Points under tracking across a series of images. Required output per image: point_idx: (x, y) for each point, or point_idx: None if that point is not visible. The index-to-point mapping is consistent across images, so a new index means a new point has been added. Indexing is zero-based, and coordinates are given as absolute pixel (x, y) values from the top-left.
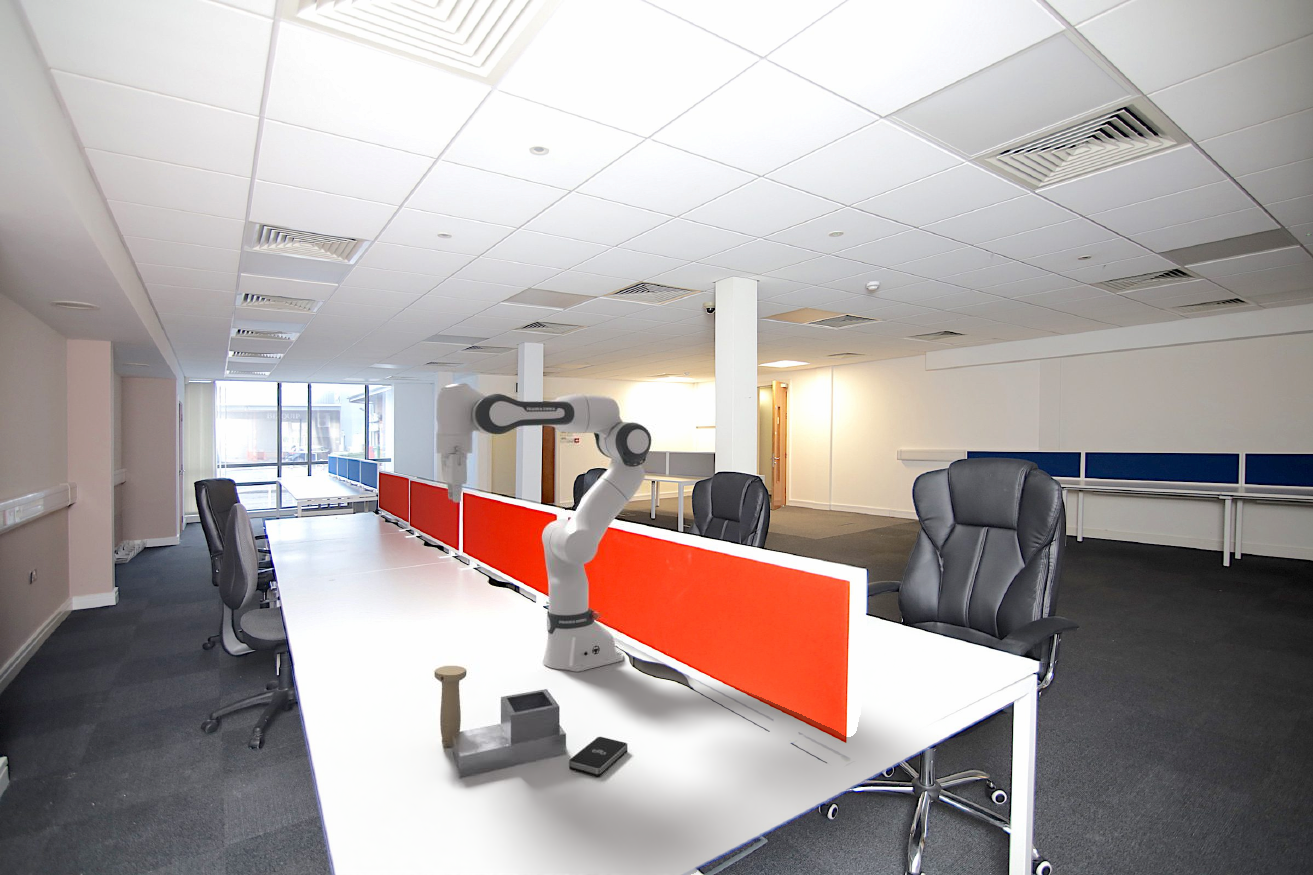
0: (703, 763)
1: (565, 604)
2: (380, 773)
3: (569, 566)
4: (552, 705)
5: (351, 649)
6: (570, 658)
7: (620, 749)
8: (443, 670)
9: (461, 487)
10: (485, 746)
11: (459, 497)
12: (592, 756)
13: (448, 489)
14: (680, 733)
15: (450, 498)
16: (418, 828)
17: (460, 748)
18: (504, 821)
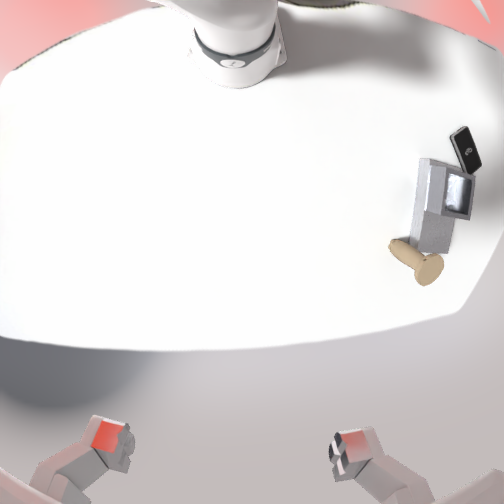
0: (485, 99)
1: (270, 30)
2: (401, 297)
3: None
4: (472, 180)
5: (79, 307)
6: (276, 60)
7: (471, 136)
8: (427, 277)
9: (425, 485)
10: (447, 233)
11: (377, 447)
12: (470, 159)
13: (94, 479)
14: (454, 76)
15: (133, 441)
16: (461, 278)
17: (439, 251)
18: (480, 234)
